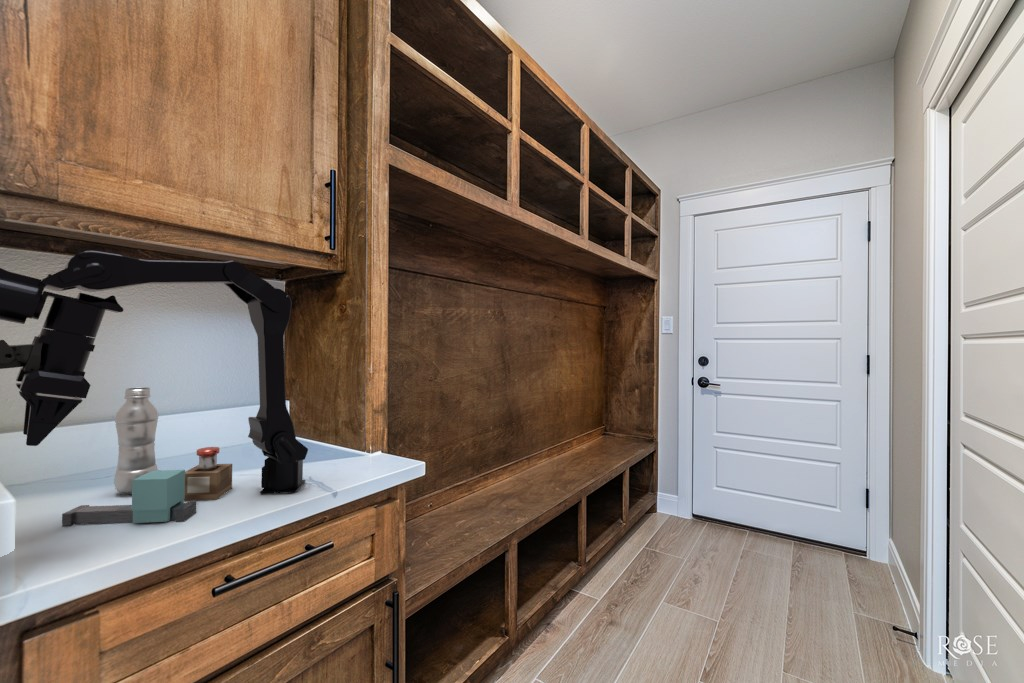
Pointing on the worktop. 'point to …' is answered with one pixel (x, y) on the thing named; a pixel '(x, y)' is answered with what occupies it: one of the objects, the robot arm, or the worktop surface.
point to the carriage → (157, 495)
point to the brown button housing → (208, 483)
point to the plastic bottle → (135, 438)
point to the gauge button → (208, 458)
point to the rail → (119, 514)
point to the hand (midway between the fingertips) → (29, 439)
